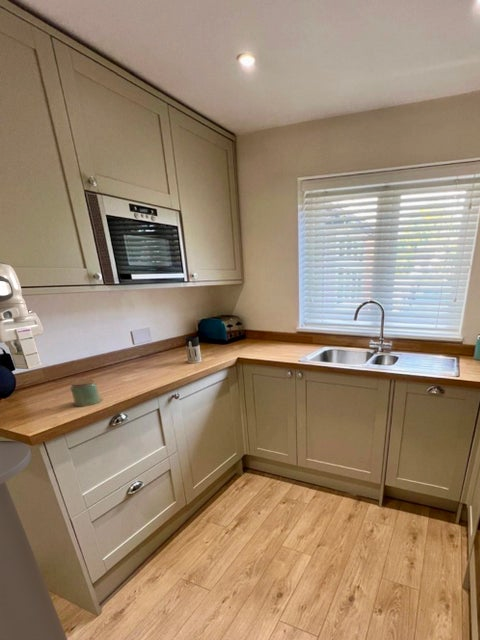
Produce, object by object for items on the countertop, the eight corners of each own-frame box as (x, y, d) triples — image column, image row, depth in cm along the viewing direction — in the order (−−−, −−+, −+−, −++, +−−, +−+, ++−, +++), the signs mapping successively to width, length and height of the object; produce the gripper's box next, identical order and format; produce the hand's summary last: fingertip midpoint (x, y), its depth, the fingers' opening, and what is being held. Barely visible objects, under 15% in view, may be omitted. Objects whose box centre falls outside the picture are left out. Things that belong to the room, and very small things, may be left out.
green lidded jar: (92, 406, 135) (86, 385, 131) (70, 406, 134) (64, 385, 131) (104, 398, 143) (99, 378, 140) (83, 398, 143) (78, 378, 140)
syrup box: (42, 365, 125) (31, 326, 121) (28, 369, 120) (15, 329, 115) (29, 365, 126) (17, 326, 121) (14, 369, 121) (1, 328, 116)
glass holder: (203, 359, 209) (200, 335, 204) (199, 365, 196) (196, 339, 191) (188, 360, 208) (185, 336, 202) (184, 365, 195) (180, 340, 189)
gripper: (26, 309, 126) (36, 345, 131) (-24, 314, 107) (-10, 356, 111) (42, 309, 126) (52, 345, 131) (-4, 314, 107) (9, 356, 112)
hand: (23, 350), depth 121 cm, fingers closed on syrup box, 6 cm apart
